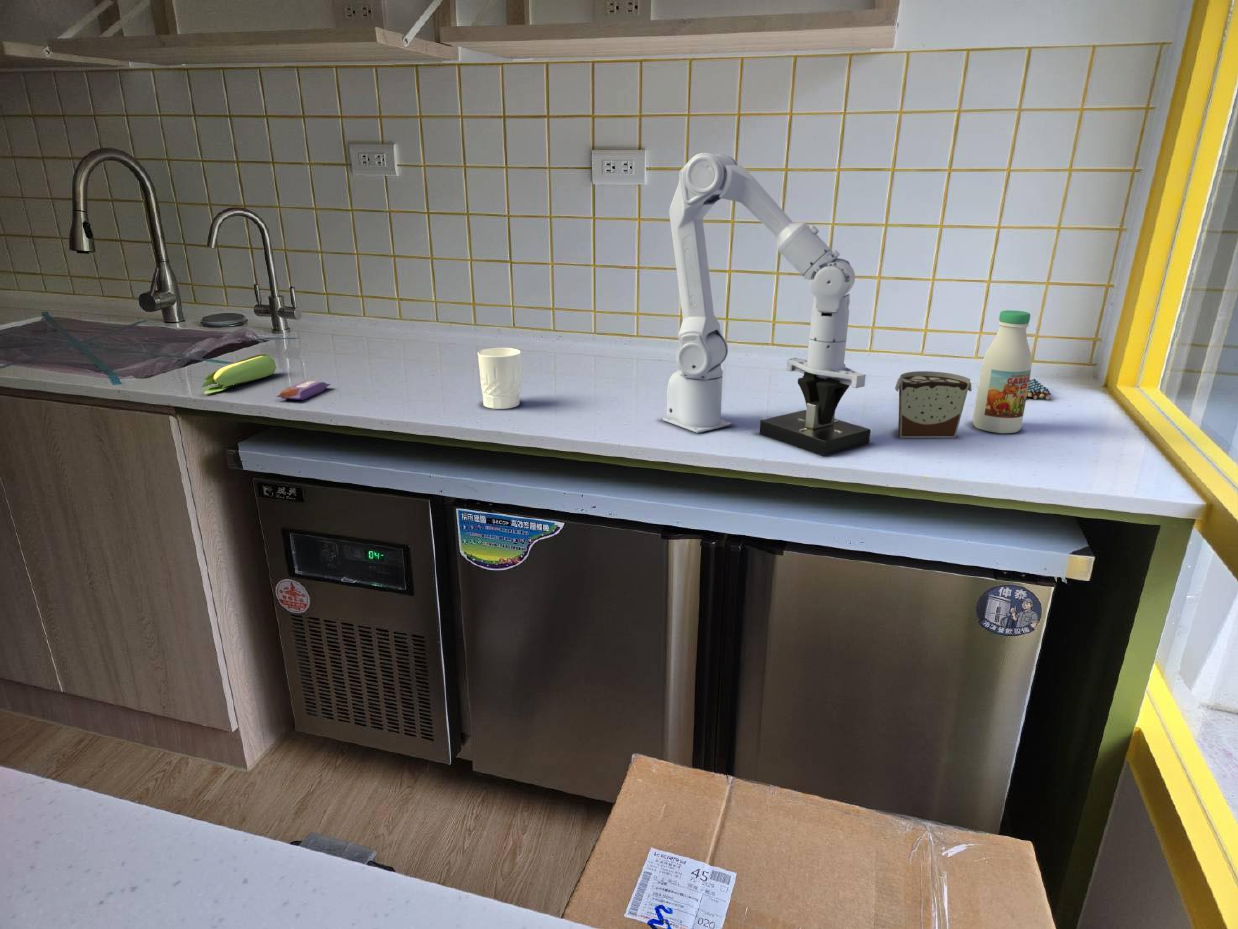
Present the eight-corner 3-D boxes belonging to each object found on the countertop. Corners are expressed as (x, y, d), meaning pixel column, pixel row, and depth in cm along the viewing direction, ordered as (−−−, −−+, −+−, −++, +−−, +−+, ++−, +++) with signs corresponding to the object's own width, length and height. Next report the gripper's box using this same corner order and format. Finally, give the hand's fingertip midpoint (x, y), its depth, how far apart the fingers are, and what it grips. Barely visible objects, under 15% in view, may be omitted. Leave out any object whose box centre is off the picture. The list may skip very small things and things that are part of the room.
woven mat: (1052, 400, 159) (1054, 390, 158) (994, 397, 161) (996, 387, 160) (1035, 387, 169) (1037, 377, 168) (981, 385, 170) (982, 375, 170)
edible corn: (284, 374, 175) (281, 353, 174) (215, 397, 157) (211, 373, 156) (264, 372, 177) (261, 351, 175) (193, 395, 159) (189, 371, 157)
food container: (949, 426, 142) (957, 370, 139) (964, 437, 136) (973, 379, 133) (879, 427, 142) (885, 370, 139) (891, 437, 136) (898, 379, 133)
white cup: (531, 402, 155) (529, 350, 152) (505, 412, 149) (503, 358, 145) (498, 397, 159) (495, 346, 155) (471, 406, 152) (468, 353, 149)
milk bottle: (964, 427, 142) (982, 311, 135) (983, 418, 147) (1001, 306, 140) (1009, 437, 137) (1030, 317, 130) (1027, 427, 142) (1048, 312, 135)
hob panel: (759, 434, 137) (760, 419, 137) (803, 423, 144) (805, 408, 143) (824, 456, 127) (825, 440, 126) (869, 443, 133) (871, 428, 132)
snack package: (308, 377, 164) (331, 379, 163) (309, 386, 165) (332, 388, 164) (274, 391, 154) (298, 393, 153) (275, 401, 154) (299, 403, 153)
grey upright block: (813, 429, 132) (815, 404, 130) (804, 426, 133) (806, 401, 131) (834, 424, 134) (836, 399, 133) (825, 421, 136) (827, 397, 134)
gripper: (881, 343, 125) (872, 428, 130) (810, 329, 137) (803, 407, 141) (851, 349, 122) (842, 436, 126) (780, 333, 133) (774, 414, 137)
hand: (819, 421), depth 133 cm, fingers closed on grey upright block, 2 cm apart
